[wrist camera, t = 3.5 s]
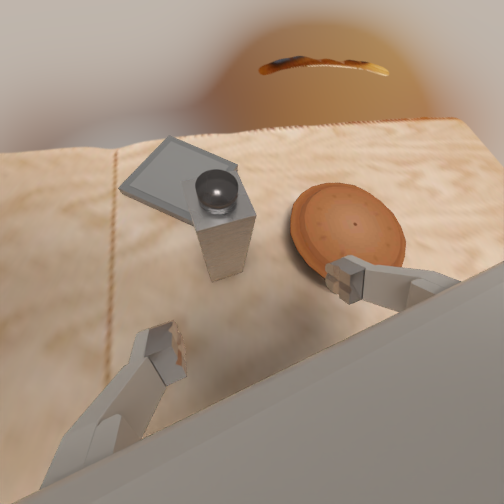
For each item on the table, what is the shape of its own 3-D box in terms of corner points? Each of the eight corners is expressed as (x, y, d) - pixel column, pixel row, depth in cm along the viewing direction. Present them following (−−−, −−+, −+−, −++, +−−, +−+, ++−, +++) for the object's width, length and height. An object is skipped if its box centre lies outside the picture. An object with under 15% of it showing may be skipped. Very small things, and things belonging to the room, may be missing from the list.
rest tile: (122, 193, 27) (117, 187, 26) (171, 142, 32) (168, 134, 31) (199, 228, 26) (198, 223, 25) (237, 170, 31) (237, 164, 30)
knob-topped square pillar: (211, 282, 24) (192, 220, 11) (202, 253, 25) (175, 167, 12) (242, 271, 25) (259, 204, 12) (232, 244, 26) (236, 156, 13)
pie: (261, 251, 26) (269, 234, 22) (311, 182, 32) (325, 157, 28) (364, 319, 24) (395, 316, 20) (397, 233, 30) (427, 215, 26)
